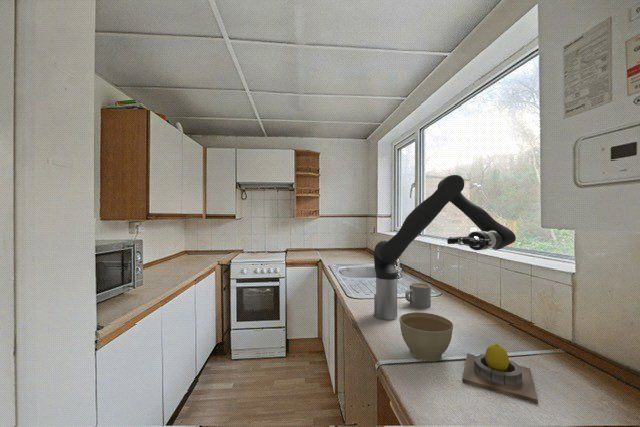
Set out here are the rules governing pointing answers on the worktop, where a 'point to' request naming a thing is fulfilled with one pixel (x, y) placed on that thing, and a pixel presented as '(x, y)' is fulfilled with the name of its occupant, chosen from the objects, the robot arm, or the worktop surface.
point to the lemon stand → (500, 378)
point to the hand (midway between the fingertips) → (458, 242)
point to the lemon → (497, 358)
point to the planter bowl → (426, 334)
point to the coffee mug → (419, 295)
